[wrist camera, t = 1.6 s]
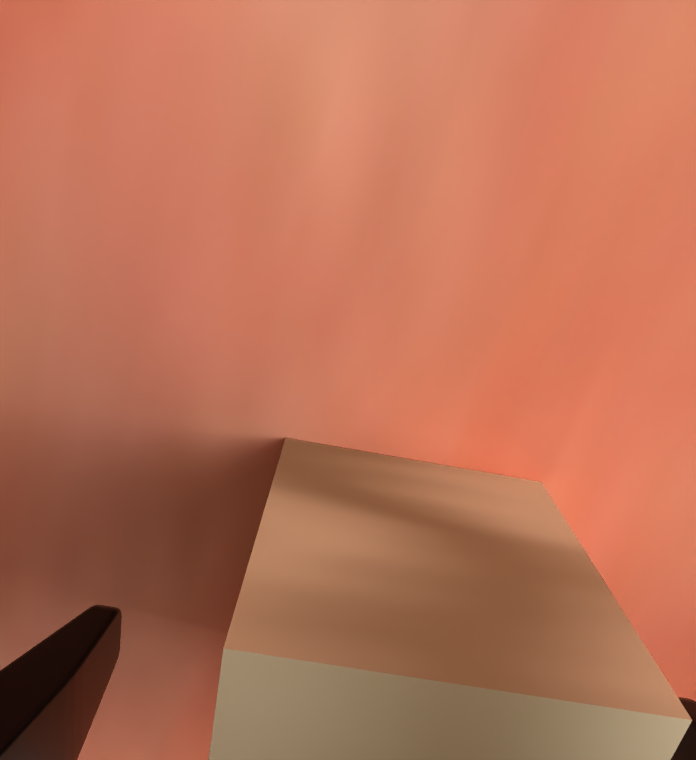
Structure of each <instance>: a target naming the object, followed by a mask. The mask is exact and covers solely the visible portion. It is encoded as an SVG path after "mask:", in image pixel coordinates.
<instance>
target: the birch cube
mask: <svg viewBox="0 0 696 760" xmlns="http://www.w3.org/2000/svg"><path fill="white" fill-rule="evenodd" d="M691 722H692V719H691V717H690V716H689V714H688V713H687V711H686V709H685V708H684V706H683V705H682V703H681V702H680V700H679V698H678V697H677V695H676V694H675V692H674V690H673V689H672V687H671V686H670V684H669V683H668V681H667V679H666V678H665V676H664V675H663V673H662V671H661V670H660V668H659V667H658V665H657V664H656V662H655V660H654V659H653V657H652V656H651V654H650V653H649V651H648V649H647V648H646V646H645V645H644V643H643V641H642V640H641V638H640V637H639V635H638V634H637V632H636V630H635V629H634V627H633V626H632V624H631V622H630V621H629V619H628V618H627V616H626V615H625V613H624V611H623V610H622V608H621V607H620V605H619V603H618V602H617V600H616V599H615V597H614V596H613V594H612V592H611V591H610V589H609V588H608V586H607V584H606V583H605V581H604V580H603V578H602V577H601V575H600V573H599V572H598V570H597V569H596V567H595V566H594V564H593V562H592V561H591V559H590V558H589V556H588V554H587V553H586V551H585V550H584V548H583V547H582V545H581V543H580V542H579V540H578V539H577V537H576V535H575V534H574V532H573V531H572V529H571V528H570V526H569V524H568V523H567V521H566V520H565V518H564V516H563V515H562V513H561V512H560V510H559V509H558V507H557V505H556V504H555V502H554V501H553V499H552V497H551V496H550V494H549V493H548V491H547V490H546V488H545V486H544V485H543V483H542V482H540V481H534V480H528V479H522V478H517V477H511V476H505V475H499V474H493V473H488V472H482V471H476V470H470V469H464V468H459V467H453V466H447V465H441V464H435V463H430V462H424V461H418V460H412V459H406V458H401V457H395V456H389V455H383V454H377V453H371V452H366V451H360V450H354V449H348V448H342V447H337V446H331V445H325V444H319V443H313V442H308V441H302V440H296V439H290V438H285V441H284V444H283V448H282V451H281V455H280V458H279V461H278V465H277V468H276V472H275V475H274V478H273V482H272V485H271V489H270V492H269V495H268V499H267V502H266V505H265V509H264V512H263V516H262V519H261V522H260V526H259V529H258V533H257V536H256V539H255V543H254V546H253V549H252V553H251V556H250V560H249V563H248V566H247V570H246V573H245V577H244V580H243V583H242V587H241V590H240V594H239V597H238V600H237V604H236V607H235V610H234V614H233V617H232V621H231V624H230V627H229V631H228V634H227V638H226V641H225V644H224V648H223V655H222V662H221V670H220V677H219V685H218V692H217V700H216V707H215V715H214V722H213V730H212V737H211V745H210V753H209V760H671V758H672V756H673V755H674V753H675V751H676V749H677V747H678V745H679V744H680V742H681V740H682V738H683V736H684V734H685V733H686V731H687V729H688V727H689V725H690V724H691Z"/></svg>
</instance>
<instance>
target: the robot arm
mask: <svg viewBox="0 0 696 760" xmlns="http://www.w3.org/2000/svg"><path fill="white" fill-rule="evenodd" d="M121 619H122V614H121V610H120V609H118V608H116V607H110V606H103V605H94V606H92V607H90V608H89V609H87V610H86V611H84V612H83V613H82V614H80V615H79V616H77V617H76V618H74V619H73V620H72V621H70V622H69V623H67V624H66V625H64V626H63V627H62V628H60V629H59V630H57V631H56V632H55V633H53V634H52V635H50V636H49V637H47V638H46V639H45V640H43V641H42V642H40V643H39V644H37V645H36V646H35V647H33V648H32V649H30V650H29V651H28V652H26V653H25V654H23V655H22V656H20V657H19V658H18V659H16V660H15V661H13V662H12V663H11V664H9V665H8V666H6V667H5V668H3V669H2V670H1V671H0V760H77V758H78V756H79V753H80V751H81V749H82V746H83V744H84V741H85V739H86V736H87V734H88V731H89V729H90V726H91V724H92V721H93V719H94V717H95V714H96V712H97V709H98V707H99V704H100V702H101V699H102V697H103V694H104V692H105V689H106V687H107V684H108V682H109V679H110V677H111V674H112V672H113V669H114V667H115V664H116V662H117V659H118V655H119V650H120V638H121ZM678 698H679V700H680V702H681V703H682V705H683V706H684V708H685V709H686V711H687V713H688V714H689V716H690V717H691V719H692V722H691V724H690V725H689V727H688V729H687V731H686V733H685V734H684V736H683V738H682V740H681V742H680V744H679V745H678V747H677V749H676V751H675V753H674V755H673V756H672V758H671V760H696V702H695V701H693V700H691V699H687V698H681V697H678Z"/></svg>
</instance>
